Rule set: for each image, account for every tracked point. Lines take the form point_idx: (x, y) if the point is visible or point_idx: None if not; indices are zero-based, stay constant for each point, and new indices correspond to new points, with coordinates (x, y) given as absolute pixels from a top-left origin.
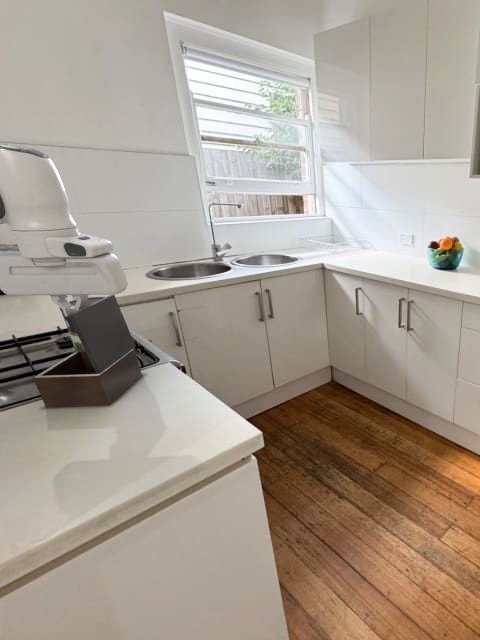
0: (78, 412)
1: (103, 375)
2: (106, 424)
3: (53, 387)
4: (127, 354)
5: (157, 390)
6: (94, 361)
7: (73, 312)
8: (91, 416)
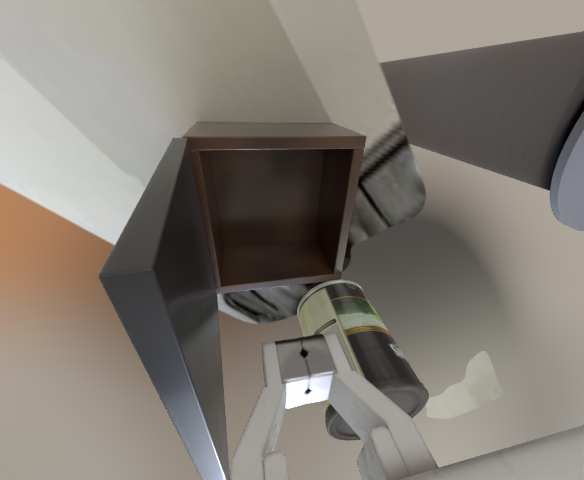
0: (250, 93)
1: None
2: (126, 7)
3: (316, 131)
4: None
5: (129, 188)
6: (169, 148)
7: (295, 356)
8: (203, 66)
